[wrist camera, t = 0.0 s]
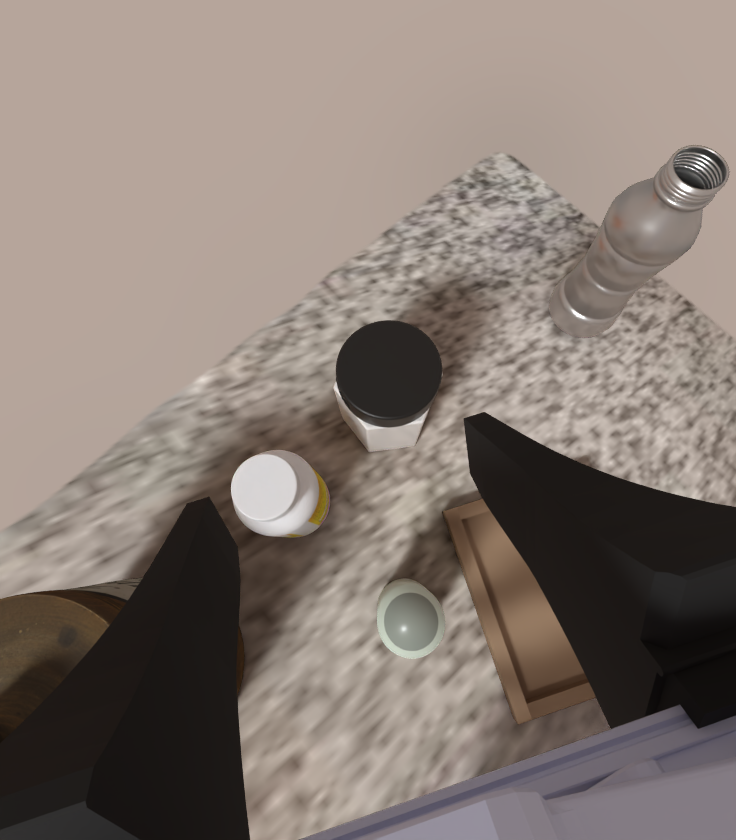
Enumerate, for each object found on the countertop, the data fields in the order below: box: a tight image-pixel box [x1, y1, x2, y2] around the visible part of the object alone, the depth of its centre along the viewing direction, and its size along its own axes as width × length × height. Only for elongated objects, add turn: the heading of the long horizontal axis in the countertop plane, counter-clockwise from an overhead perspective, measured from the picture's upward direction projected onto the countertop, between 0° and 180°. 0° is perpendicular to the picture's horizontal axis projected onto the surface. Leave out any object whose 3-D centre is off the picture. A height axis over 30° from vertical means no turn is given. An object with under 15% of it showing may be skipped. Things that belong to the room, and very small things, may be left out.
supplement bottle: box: [231, 450, 330, 538], centre depth 39 cm, size 7×7×13 cm
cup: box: [377, 578, 445, 659], centre depth 38 cm, size 5×5×8 cm
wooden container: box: [0, 578, 244, 743], centre depth 31 cm, size 15×15×22 cm
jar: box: [334, 320, 443, 452], centre depth 41 cm, size 9×8×12 cm
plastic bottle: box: [549, 145, 729, 338], centre depth 40 cm, size 6×7×20 cm
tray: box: [442, 499, 596, 724], centre depth 42 cm, size 18×14×2 cm
